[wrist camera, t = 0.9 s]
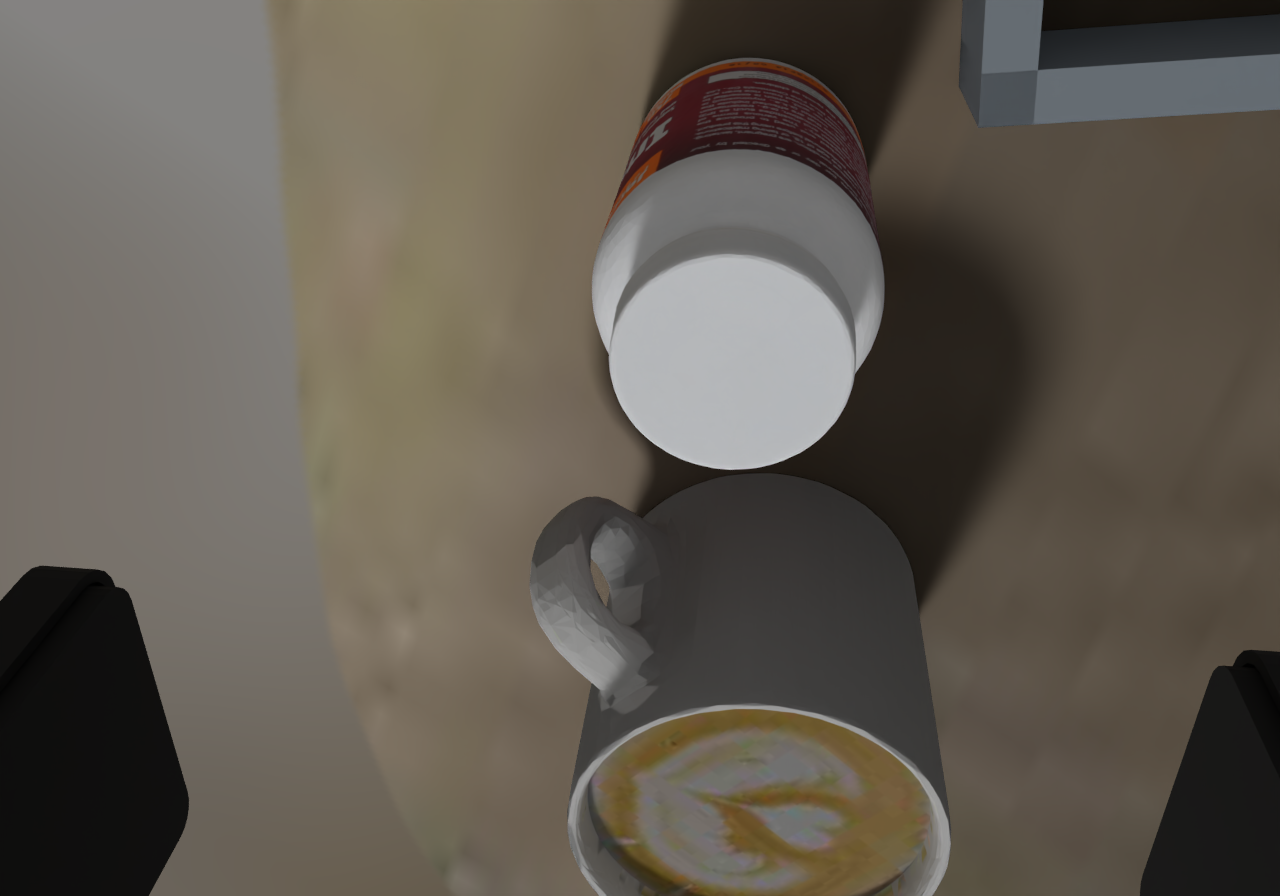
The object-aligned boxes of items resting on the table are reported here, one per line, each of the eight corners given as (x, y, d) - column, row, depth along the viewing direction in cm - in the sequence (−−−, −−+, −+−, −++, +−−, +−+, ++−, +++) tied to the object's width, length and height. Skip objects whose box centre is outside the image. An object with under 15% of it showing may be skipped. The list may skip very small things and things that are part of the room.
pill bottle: (637, 41, 30) (571, 191, 21) (882, 61, 29) (928, 222, 20) (625, 269, 33) (565, 485, 24) (846, 288, 33) (871, 517, 24)
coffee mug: (967, 645, 39) (1018, 901, 31) (712, 744, 43) (694, 998, 34) (762, 331, 34) (756, 538, 25) (491, 475, 37) (406, 697, 29)
